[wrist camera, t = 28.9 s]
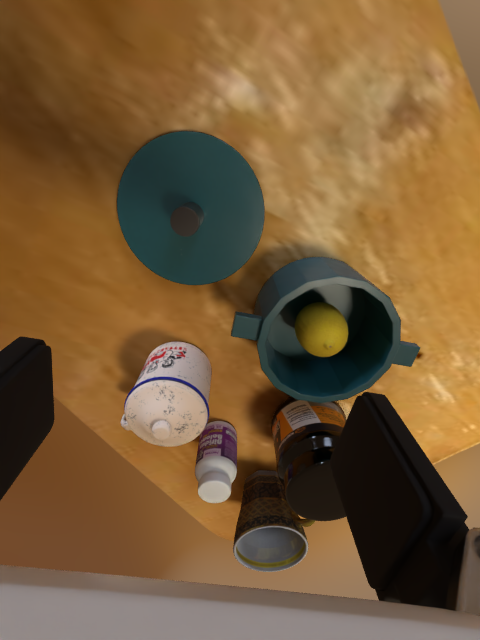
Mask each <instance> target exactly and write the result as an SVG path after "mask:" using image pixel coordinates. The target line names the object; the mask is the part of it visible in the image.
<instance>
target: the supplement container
mask: <svg viewBox="0 0 480 640" xmlns="http://www.w3.org/2000/svg"><path fill="white" fill-rule="evenodd" d="M346 421H347V420H346V417H345V414H344V412H343V410H342V408H341V407H340V405H339V404H338V403H337V402H336V401H332V402H326V403H317V402H310V401H304V400H297V399H295V398H293V397H291V398H289V399H287V400H286V401H284V402H283V403H282V404H281V405H280V406H279V407H278V408H277V409H276V411H275V413H274V415H273V418H272V422H271V431H272V435H273V440H274V447H275V454H276V460H277V474H278V477H279V480H280V481H281V483H282V484H283V486H284V491H285V497H286V501H287V504H288V505H289V507H290V508H291V509H292V510H293V511H294V512H295V513H296V514H298V515H300V516H302V517H304V518H307V519H310V520H315V521H331V520H336V519H340V518H344V517H346V513H345V510H344V507H343V504H342V501H341V498H340V495H339V492H338V489H337V486H336V483H335V480H334V477H333V474H332V471H331V467H330V459H331V455H332V453H333V451H334V448H335V446H336V444H337V441H338V439H339V437H340V434H341V432H342V430H343V427H344V425H345V423H346Z"/></svg>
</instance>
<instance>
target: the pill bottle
mask: <svg viewBox="0 0 480 640" xmlns="http://www.w3.org/2000/svg"><path fill="white" fill-rule="evenodd" d="M236 474H237V434H236V430H235V429H234V428H233V426H232V425H230V424H229V423H227V422H224V421H214V422H210V423H208V424H207V425H206V426H205V428H204V430H203V431H202V432H201V433H200V438H199V445H198V452H197V459H196V466H195V476H196V478H197V480H198V482H199V483H198V494H199V496H200V498H201V499H202V500H204V501H206V502H209V503H220V502H223V501H225V500H227V499H228V498H229V496H230V494H231V483H232V482H233V481H234V480H235V477H236Z"/></svg>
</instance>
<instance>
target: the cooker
mask: <svg viewBox="0 0 480 640" xmlns="http://www.w3.org/2000/svg"><path fill="white" fill-rule="evenodd" d="M316 302H323V303H327V304H330V305H332V306H334V307H335V308H337V309H338V310H339V311H340V312H341V314H342V315H343V316H344V318H345V320H346V323H347V326H348V338H347V342H346V344H345V346H344V347H343V348H342V350H341V351H339V352H338V353H337V354H335V355H332V356H329V357H319V356H315V355H313V354H311V353H309V352H308V351H306V350H305V349H304V348H303V347H302V346H301V344H300V343H299V341H298V340H297V337H296V334H295V321H296V317H297V315H298V314H299V312H300V311H301V310H302V309H303V308H304V307H305V306H307V305H309V304H311V303H316ZM400 331H401V320H400V317H399V315H398V313H397V311H396V309H395V307H394V305H393V303H392V301H391V299H390V298H389V297H388V296H387V295H386V294H385V293H383V292H382V291H381V290H380V289H378V288H377V287H376V286H375V285H373V284H372V283H371V282H370V281H368V280H367V279H366V278H365V277H363V276H362V275H361V274H359V273H358V272H357V271H355V270H354V269H353V268H351V267H350V266H348V265H347V264H346V263H344V262H342V261H338V260H335V259H332V258H326V257H309V258H303V259H300V260H296V261H294V262H291V263H289V264H287V265H285V266H284V267H282V268H281V269H279V270H278V271H276V272H275V273H274V274H273V275H272V276H271V277H270V278H269V279H268V280H267V282H266V283H265V284H264V286H263V287H262V289H261V290H260V293H259V294H258V297H257V300H256V303H255V309H254V314H248V313H242V312H237V311H236V312H235V316H234V321H233V325H232V330H231V336H233V337H239V338H245V339H251V340H256V342H257V348H258V353H259V358H260V363H261V368H262V370H263V372H264V373H265V374H266V376H267V377H268V378H269V379H270V381H271V382H272V383H273V385H274V386H275V387H276V388H277V389H279V390H281V391H283V392H284V393H286V394H288V395H290V396H291V397H293V398H295V399H297V400H304V401H310V402H317V403H326V402H332V401H338V400H344V399H348V398H350V397H352V396H354V395H356V394H358V393H360V392H362V391H364V390H366V389H368V388H370V387H371V386H372V385H373V384H374V383H375V382H376V381H377V380H378V379H379V378H380V377H381V376H382V375H383V374H384V373H385V372H386V371H387V370H388V369H389V368H390V366H391V364H398V365H403V366H409V367H411V366H412V364H413V362H414V360H415V358H416V356H417V354H418V352H419V350H420V347H419V346H418V345H417V344H415V343H409V342H404V341H400Z"/></svg>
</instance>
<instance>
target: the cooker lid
mask: <svg viewBox="0 0 480 640" xmlns="http://www.w3.org/2000/svg"><path fill="white" fill-rule="evenodd" d="M117 211H118V218H119V223H120V226H121V230H122V233H123V235H124V237H125V240H126V241H127V243H128V245H129V247H130V249H131V250H132V251H133V253H134V254H135V255H136V257H137V258H138V259H139V260H140V261H141V262H142V263H143V264H144V265H145V266H146V267H147V268H149V269H150V270H151V271H153V272H154V273H156V274H157V275H159V276H161V277H163V278H165V279H167V280H170V281H173V282H176V283H180V284H187V285H204V284H210V283H214V282H217V281H220V280H222V279H225V278H227V277H228V276H230V275H232V274H233V273H235V272H236V271H237V270H239V269H240V268H241V267H242V266H243V265H244V264H245V263H246V262H247V261H248V259H249V258H250V257H251V256H252V254H253V252H254V251H255V249H256V247H257V245H258V242H259V240H260V237H261V234H262V230H263V224H264V200H263V196H262V191H261V188H260V185H259V182H258V180H257V178H256V176H255V174H254V172H253V170H252V169H251V167H250V166H249V164H248V163H247V161H246V160H245V159H244V158H243V157H242V156H241V155H240V154H239V153H238V152H237V151H236V150H235V149H234V148H233V147H231V146H230V145H228V144H227V143H225V142H224V141H222V140H220V139H218V138H216V137H214V136H211V135H207V134H204V133H200V132H193V131H180V132H173V133H169V134H166V135H162V136H160V137H158V138H156V139H154V140H152V141H150V142H149V143H147V144H146V145H144V146H143V147H142V148H141V149H140V150H139V151H138V152H137V153H136V154H135V155H134V156H133V158H132V159H131V160H130V161H129V163H128V165H127V167H126V169H125V170H124V173H123V175H122V178H121V181H120V185H119V189H118V197H117Z"/></svg>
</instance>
